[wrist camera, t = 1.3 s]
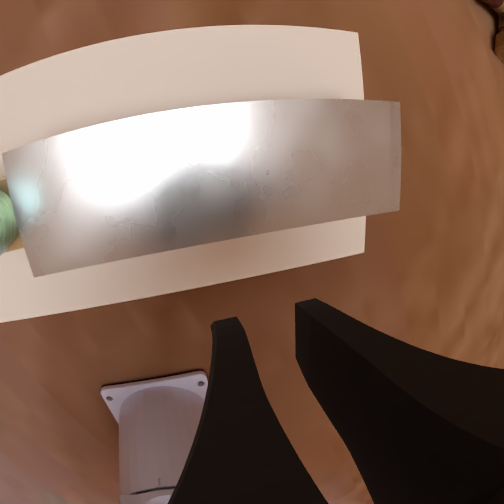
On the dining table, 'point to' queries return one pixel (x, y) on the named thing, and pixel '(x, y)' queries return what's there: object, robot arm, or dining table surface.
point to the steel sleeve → (201, 177)
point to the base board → (164, 99)
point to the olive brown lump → (503, 4)
